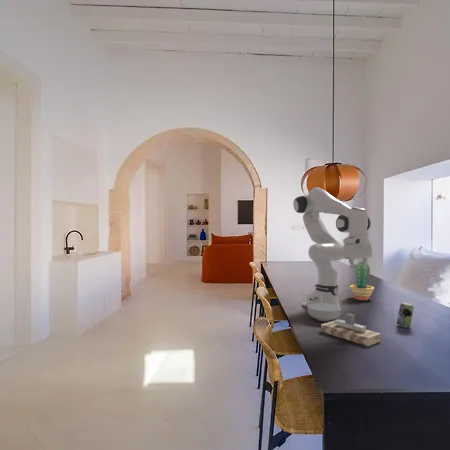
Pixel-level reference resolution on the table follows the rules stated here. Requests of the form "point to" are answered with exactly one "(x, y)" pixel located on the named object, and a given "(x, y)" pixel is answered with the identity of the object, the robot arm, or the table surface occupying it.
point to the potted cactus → (362, 282)
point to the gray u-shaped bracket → (350, 323)
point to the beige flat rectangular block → (351, 334)
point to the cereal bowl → (324, 311)
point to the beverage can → (405, 314)
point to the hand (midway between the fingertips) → (358, 267)
